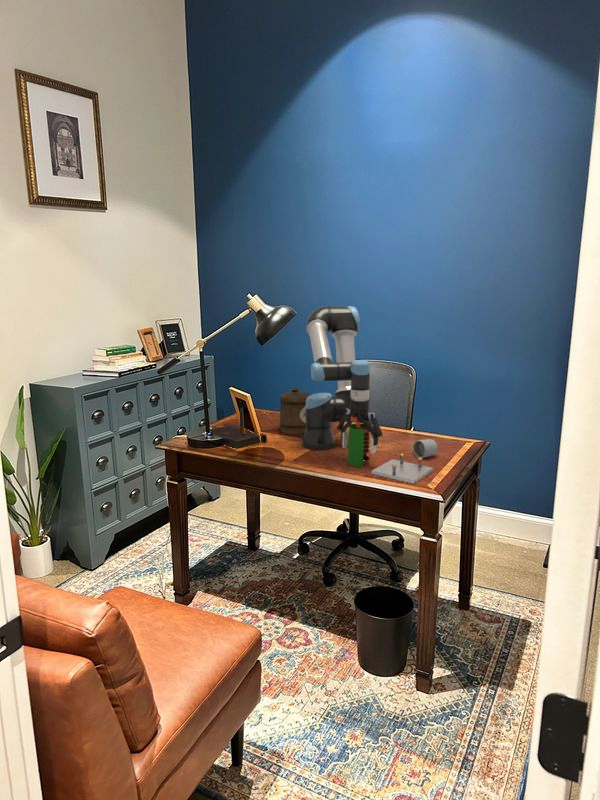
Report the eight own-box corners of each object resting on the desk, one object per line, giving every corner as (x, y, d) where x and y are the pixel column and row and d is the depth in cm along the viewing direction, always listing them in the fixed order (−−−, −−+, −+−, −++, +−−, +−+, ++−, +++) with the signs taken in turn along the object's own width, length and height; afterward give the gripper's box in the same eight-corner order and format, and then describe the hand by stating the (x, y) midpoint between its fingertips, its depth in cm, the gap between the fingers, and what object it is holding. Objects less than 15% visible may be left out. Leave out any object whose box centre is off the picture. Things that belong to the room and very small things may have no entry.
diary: (233, 433, 295) (233, 423, 294) (267, 444, 278) (267, 433, 277) (201, 440, 283) (201, 430, 282) (235, 452, 265) (235, 441, 264)
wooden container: (309, 435, 290) (309, 390, 285) (278, 434, 291) (278, 389, 286) (311, 426, 304) (311, 383, 299) (281, 426, 305) (281, 383, 300)
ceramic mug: (439, 457, 256) (439, 439, 254) (424, 460, 252) (425, 442, 250) (421, 451, 265) (422, 434, 263) (407, 454, 261) (408, 437, 259)
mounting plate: (371, 474, 236) (371, 461, 235) (392, 462, 249) (392, 450, 248) (413, 483, 225) (414, 471, 224) (432, 471, 239) (433, 459, 237)
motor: (370, 467, 244) (371, 419, 239) (348, 467, 244) (349, 419, 240) (368, 459, 254) (369, 413, 249) (347, 459, 254) (347, 413, 249)
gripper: (328, 397, 247) (328, 446, 252) (382, 405, 233) (381, 457, 237) (338, 393, 253) (338, 442, 258) (391, 401, 239) (390, 452, 243)
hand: (358, 449), depth 248 cm, fingers open, 13 cm apart
